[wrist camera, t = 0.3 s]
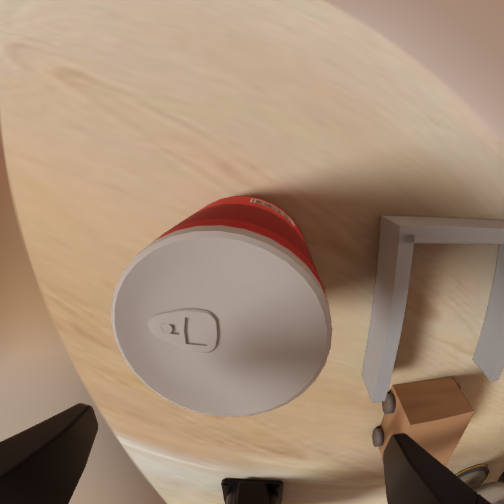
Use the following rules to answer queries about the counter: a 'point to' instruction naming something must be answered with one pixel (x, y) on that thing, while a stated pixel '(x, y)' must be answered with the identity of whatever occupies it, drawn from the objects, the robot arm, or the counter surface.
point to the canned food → (225, 311)
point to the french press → (501, 478)
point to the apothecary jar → (494, 492)
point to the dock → (397, 284)
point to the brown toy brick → (426, 416)
